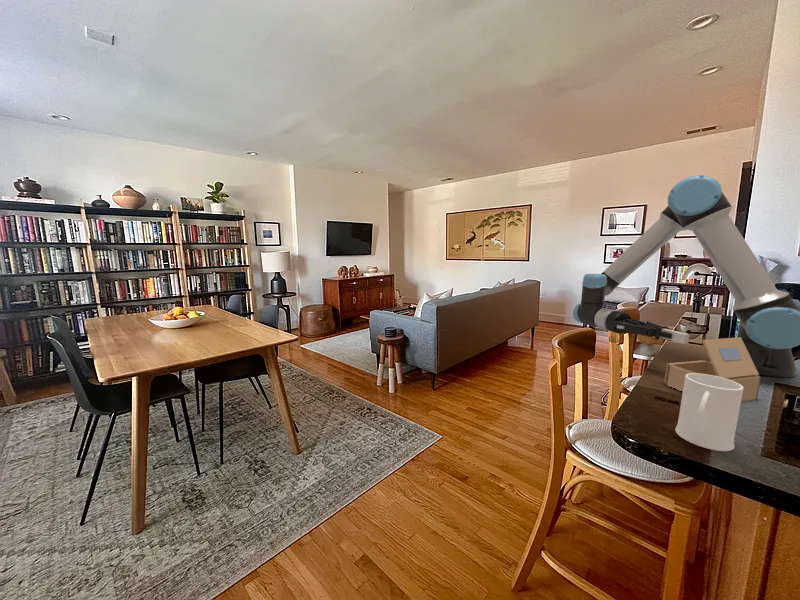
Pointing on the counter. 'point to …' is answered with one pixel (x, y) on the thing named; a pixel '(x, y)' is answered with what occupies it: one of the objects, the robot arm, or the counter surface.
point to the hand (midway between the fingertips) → (686, 339)
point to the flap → (729, 357)
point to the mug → (709, 411)
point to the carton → (679, 371)
